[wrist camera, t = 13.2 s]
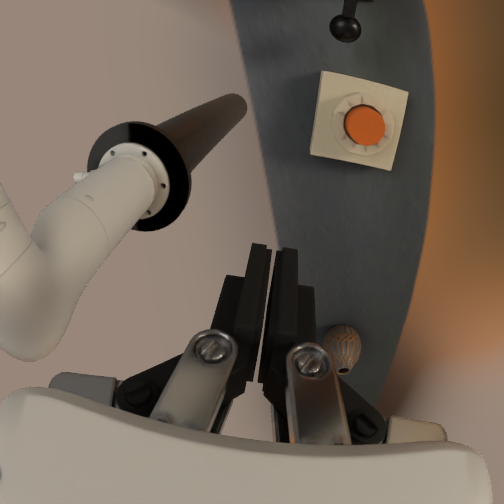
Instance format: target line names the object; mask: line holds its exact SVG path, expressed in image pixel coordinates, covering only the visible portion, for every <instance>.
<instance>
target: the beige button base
mask: <svg viewBox="0 0 504 504" xmlns="http://www.w3.org/2000/svg"><path fill="white" fill-rule="evenodd" d="M407 98H408V92H406V91H403V90H400V89H397V88H393V87H390V86H386V85H383V84H379V83H376V82H372V81H368V80H364V79H360V78H356V77H351V76H347V75H342V74H337V73H332V72H327V71H321V76H320V83H319V90H318V98H317V104H316V111H315V118H314V125H313V131H312V137H311V144H310V154H311V155H316V156H321V157H327V158H332V159H338V160H343V161H348V162H353V163H358V164H363V165H367V166H372V167H376V168H380V169H385V170H389V171H391V168H392V165H393V161H394V157H395V153H396V149H397V145H398V140H399V136H400V132H401V127H402V123H403V118H404V113H405V108H406V103H407ZM357 107H368V108H371V109H372V110H374V111H376V112H377V113H379V114H380V115H381V117H382V118H383V120H384V123H385V133H384V136H383V137H382V139H381V140H380V141H379V142H378V143H376V144H374V145H370V146H364V145H361V144H358V143H357V142H355V141H354V140H353V139H352V137H351V136H350V135H349V134H348V132H347V130H346V124H345V122H346V118H347V115H348V114H349V112H350V111H352V110H353V109H355V108H357Z"/></svg>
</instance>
